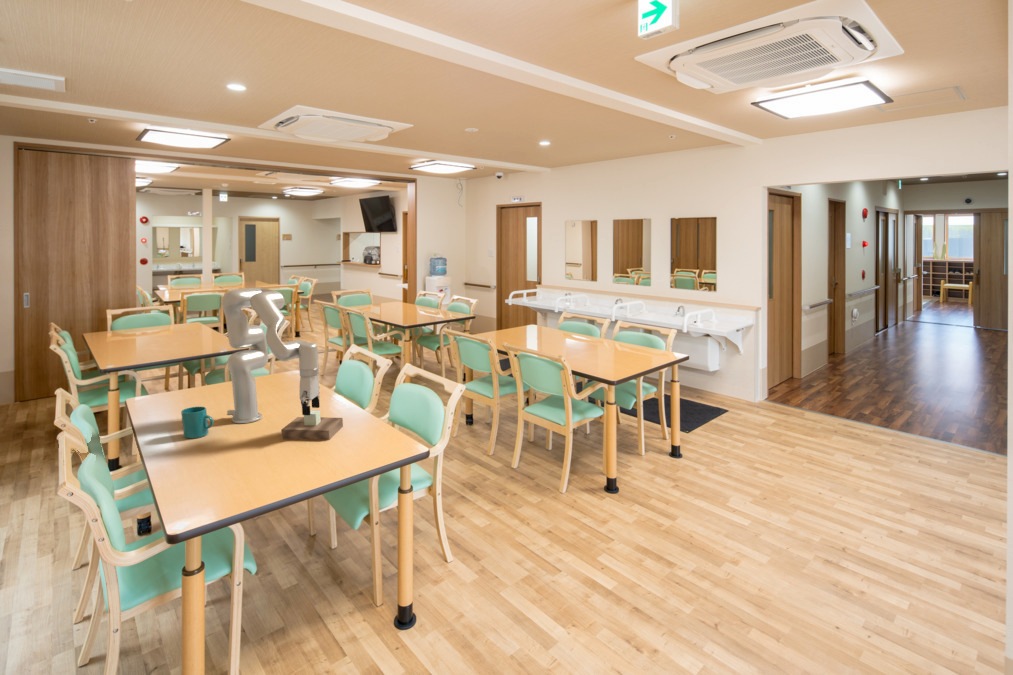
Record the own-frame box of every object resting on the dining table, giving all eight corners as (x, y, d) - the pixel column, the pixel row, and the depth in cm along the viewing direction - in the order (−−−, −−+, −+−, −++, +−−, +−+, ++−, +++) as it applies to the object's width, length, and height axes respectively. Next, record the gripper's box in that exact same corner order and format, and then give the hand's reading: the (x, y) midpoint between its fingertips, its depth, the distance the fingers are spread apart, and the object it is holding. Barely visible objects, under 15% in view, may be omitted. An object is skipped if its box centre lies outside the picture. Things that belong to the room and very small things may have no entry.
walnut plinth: (281, 438, 221) (281, 429, 220) (298, 425, 236) (297, 416, 236) (329, 439, 220) (328, 430, 219) (342, 426, 235) (342, 417, 235)
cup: (208, 439, 220) (206, 413, 218) (179, 439, 220) (176, 413, 218) (220, 431, 229) (217, 406, 227) (191, 431, 229) (189, 406, 226)
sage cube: (304, 425, 225) (303, 414, 224) (309, 421, 230) (308, 410, 229) (316, 425, 225) (315, 414, 224) (320, 421, 230) (320, 410, 229)
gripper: (308, 366, 232) (310, 404, 235) (291, 377, 215) (293, 417, 218) (325, 367, 232) (327, 405, 235) (309, 377, 215) (311, 418, 218)
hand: (311, 411), depth 227 cm, fingers open, 9 cm apart
